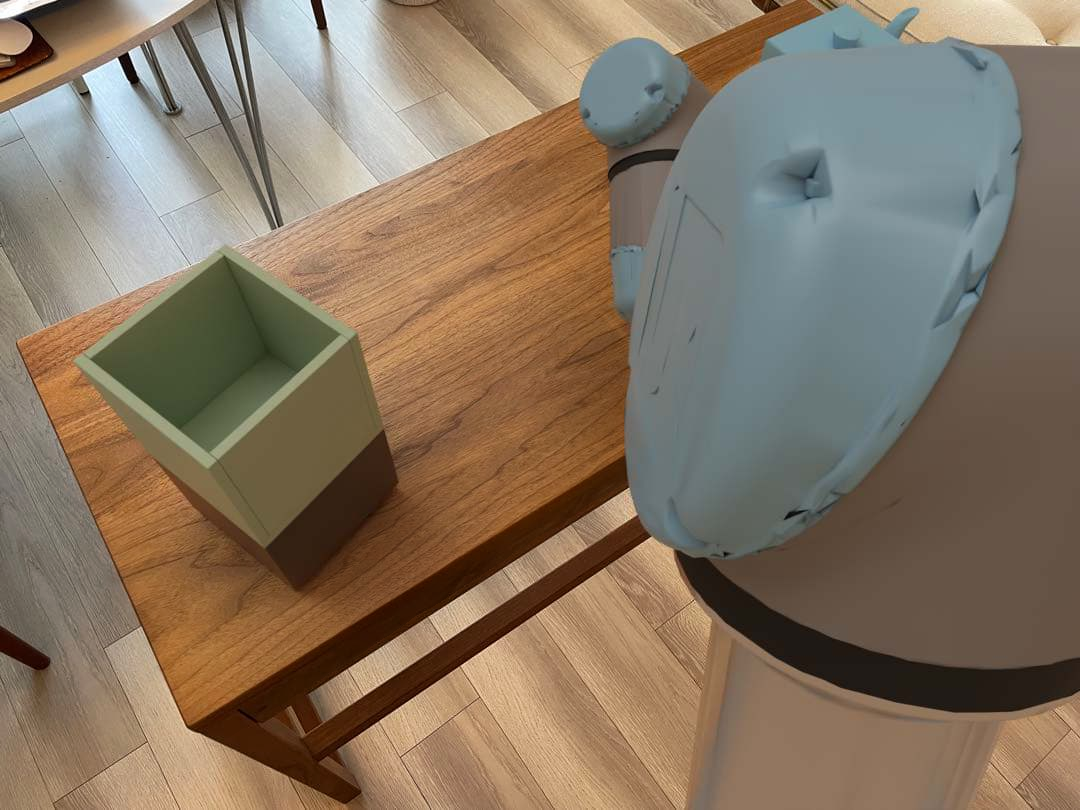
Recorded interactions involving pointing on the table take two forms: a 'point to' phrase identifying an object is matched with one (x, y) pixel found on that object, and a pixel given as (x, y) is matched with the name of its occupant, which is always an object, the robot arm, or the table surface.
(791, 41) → the teapot
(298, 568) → the waste bin
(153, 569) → the table surface
